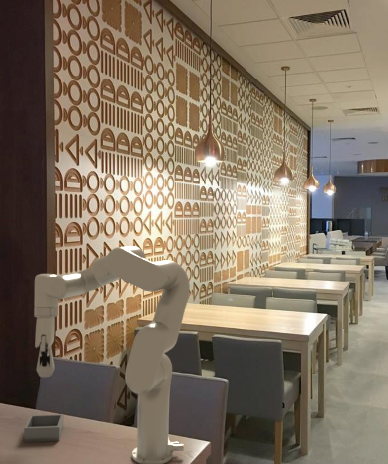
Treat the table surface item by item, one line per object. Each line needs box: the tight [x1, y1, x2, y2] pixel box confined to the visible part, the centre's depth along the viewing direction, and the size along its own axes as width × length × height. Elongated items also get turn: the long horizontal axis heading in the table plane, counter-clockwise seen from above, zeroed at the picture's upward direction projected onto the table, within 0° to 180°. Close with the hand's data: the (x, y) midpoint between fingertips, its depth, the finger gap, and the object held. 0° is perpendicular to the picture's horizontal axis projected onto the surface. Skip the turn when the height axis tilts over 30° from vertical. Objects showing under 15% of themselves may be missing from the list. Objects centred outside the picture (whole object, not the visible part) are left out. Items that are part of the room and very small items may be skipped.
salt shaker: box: [36, 345, 55, 378], centre depth 170 cm, size 6×6×13 cm
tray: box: [23, 413, 65, 443], centre depth 170 cm, size 11×11×4 cm
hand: (45, 366), depth 170 cm, fingers closed on salt shaker, 3 cm apart
